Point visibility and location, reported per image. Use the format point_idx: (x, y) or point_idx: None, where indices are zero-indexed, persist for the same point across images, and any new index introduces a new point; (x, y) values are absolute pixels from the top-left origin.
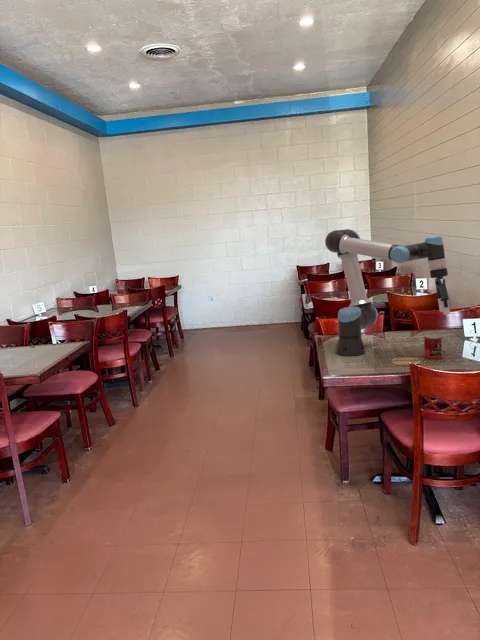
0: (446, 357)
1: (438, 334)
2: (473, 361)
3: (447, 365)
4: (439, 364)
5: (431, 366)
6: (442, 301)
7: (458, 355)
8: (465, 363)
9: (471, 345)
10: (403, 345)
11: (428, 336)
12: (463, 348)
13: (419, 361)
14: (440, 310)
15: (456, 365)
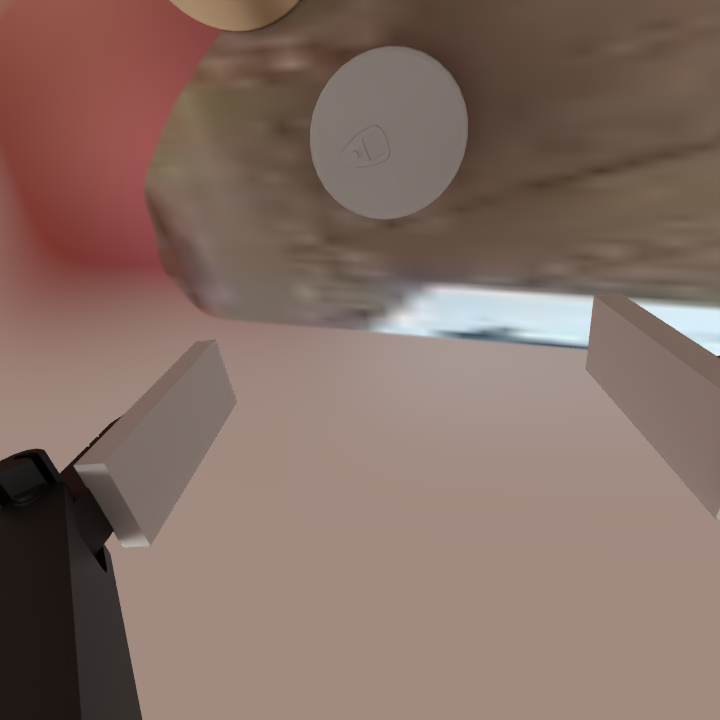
0: None
1: (434, 193)
2: (348, 326)
3: (242, 209)
4: (247, 165)
5: (190, 117)
6: (87, 466)
7: (460, 270)
8: (304, 292)
9: None
10: None
11: (375, 94)
12: None
13: (230, 21)
14: (602, 313)
15: (256, 252)
